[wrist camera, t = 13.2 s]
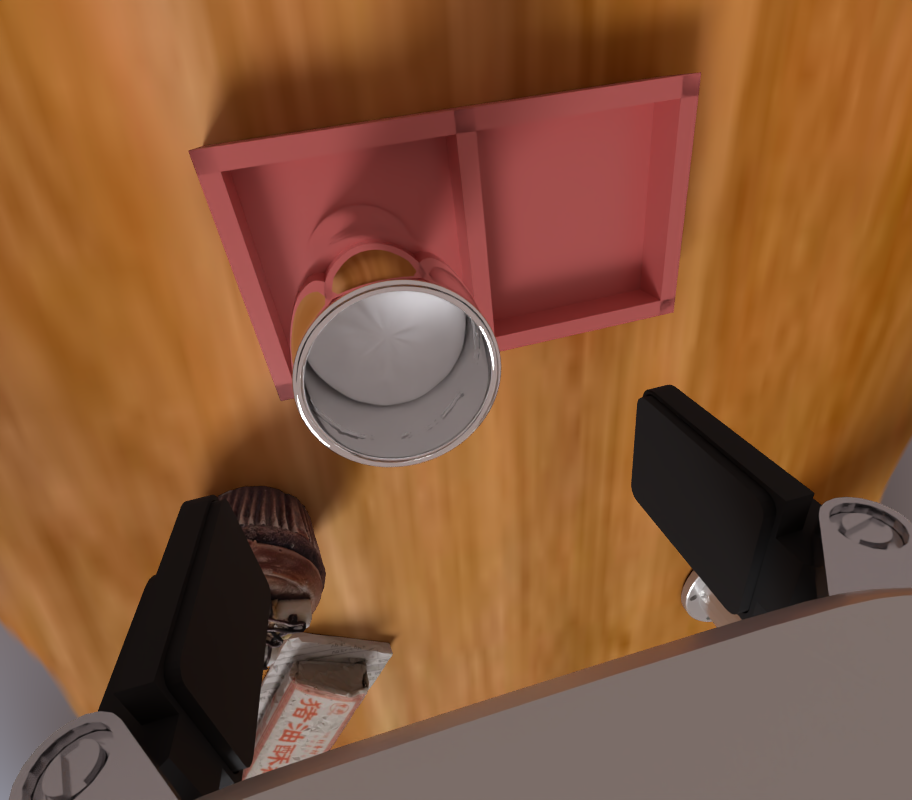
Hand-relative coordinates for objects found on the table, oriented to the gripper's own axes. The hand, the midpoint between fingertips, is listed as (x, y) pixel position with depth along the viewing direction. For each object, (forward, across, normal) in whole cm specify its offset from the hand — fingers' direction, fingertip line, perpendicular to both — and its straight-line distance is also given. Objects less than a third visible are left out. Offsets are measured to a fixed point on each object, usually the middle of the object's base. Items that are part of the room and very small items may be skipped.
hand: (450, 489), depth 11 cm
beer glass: (+20, 0, 0) cm, 20 cm away
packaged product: (+22, +15, +40) cm, 48 cm away
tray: (+21, -6, -1) cm, 22 cm away
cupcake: (+21, +12, +17) cm, 30 cm away
